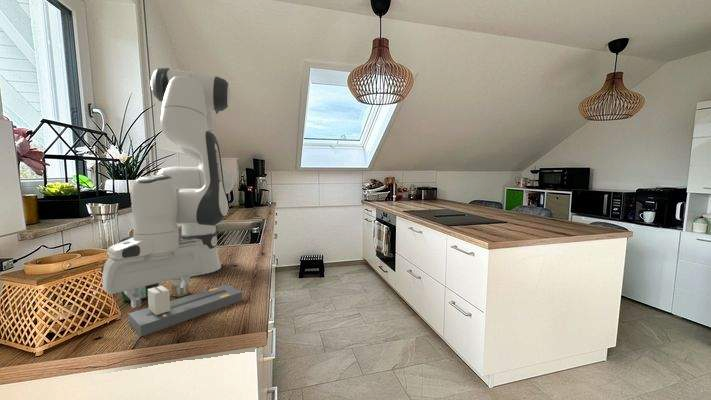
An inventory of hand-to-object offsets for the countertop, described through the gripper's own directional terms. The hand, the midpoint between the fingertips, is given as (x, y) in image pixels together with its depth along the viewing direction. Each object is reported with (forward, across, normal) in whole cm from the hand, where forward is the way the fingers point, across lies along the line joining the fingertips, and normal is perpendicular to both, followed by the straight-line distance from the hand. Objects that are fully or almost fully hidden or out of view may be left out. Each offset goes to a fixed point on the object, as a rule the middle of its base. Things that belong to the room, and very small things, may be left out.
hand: (160, 299), depth 69 cm
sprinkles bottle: (+6, -10, -14) cm, 18 cm away
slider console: (+6, -7, 0) cm, 9 cm away
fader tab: (+3, 0, -1) cm, 3 cm away
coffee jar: (+6, -2, -22) cm, 23 cm away
